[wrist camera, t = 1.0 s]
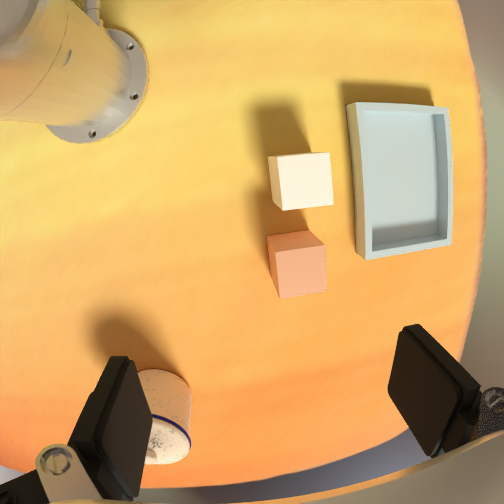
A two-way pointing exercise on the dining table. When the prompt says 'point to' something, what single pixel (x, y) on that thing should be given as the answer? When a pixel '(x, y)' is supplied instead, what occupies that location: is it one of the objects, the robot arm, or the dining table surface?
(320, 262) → the terracotta block
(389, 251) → the tray
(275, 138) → the dining table surface
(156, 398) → the teacup with lid
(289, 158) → the white block
